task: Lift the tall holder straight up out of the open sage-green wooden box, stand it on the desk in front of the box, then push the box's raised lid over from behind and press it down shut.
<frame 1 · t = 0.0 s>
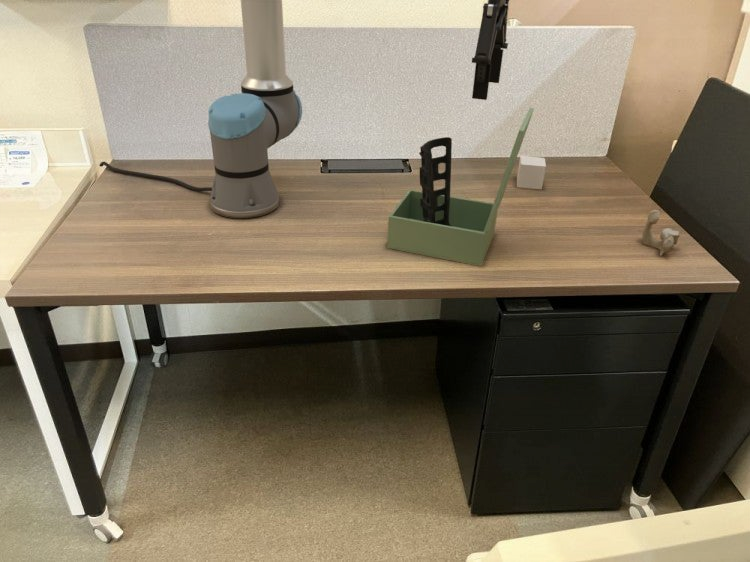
hand: (486, 90, 120), 28 cm above the table, tool pointing down, fingers open, 13 cm apart
beige irregular piece: (660, 249, 124), on the table
holder: (435, 238, 125), resting on box
box: (441, 241, 125), on the table
white cube: (528, 184, 152), on the table
lid: (509, 169, 112), point 17 cm above the table, hinge at 100.0°
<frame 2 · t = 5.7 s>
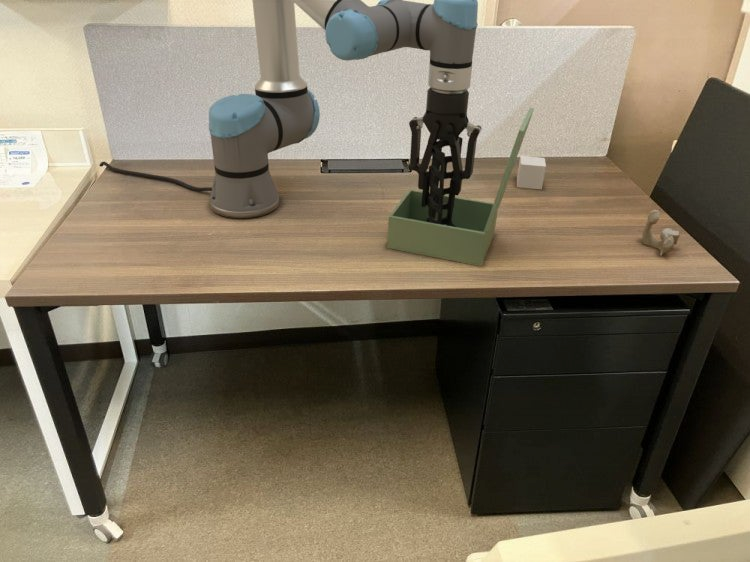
hand: (437, 206, 121), 8 cm above the table, tool pointing down, fingers closed on holder, 5 cm apart
holder: (437, 236, 125), point 1 cm above the table, touching box, gripper
everything else where it was.
when the fingers open (7 cm above the table, at t = 12.0 s): holder stays where it is, on the table.
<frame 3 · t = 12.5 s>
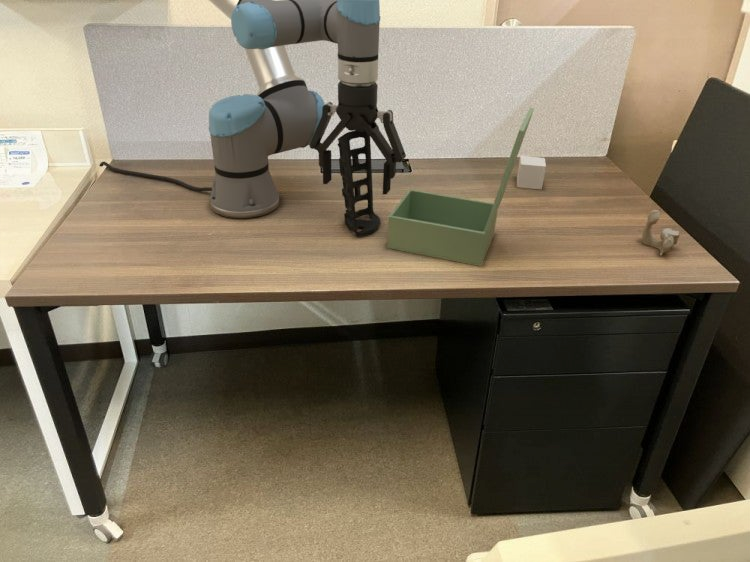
hand: (356, 187, 125), 9 cm above the table, tool pointing down, fingers open, 12 cm apart
holder: (358, 226, 130), on the table
everything else where it was.
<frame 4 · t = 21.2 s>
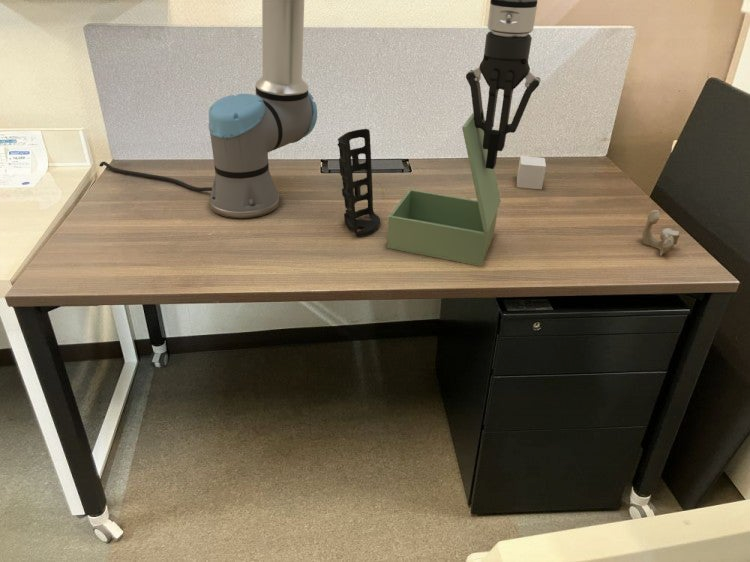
hand: (490, 165, 113), 18 cm above the table, tool pointing down, fingers closed
lid: (483, 167, 114), point 17 cm above the table, hinge at 71.9°, touching gripper, hand
everything else where it was.
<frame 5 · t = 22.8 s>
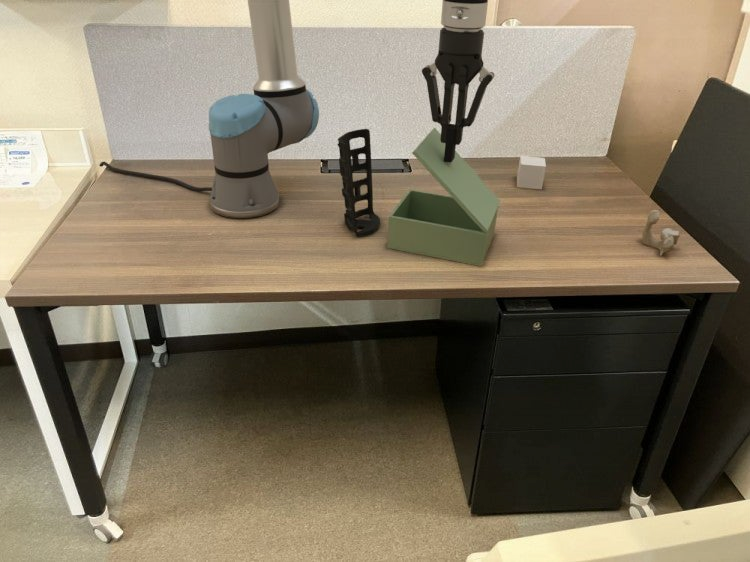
hand: (449, 159, 115), 18 cm above the table, tool pointing down, fingers closed
lid: (458, 178, 117), point 14 cm above the table, hinge at 41.7°, touching gripper
everything else where it was.
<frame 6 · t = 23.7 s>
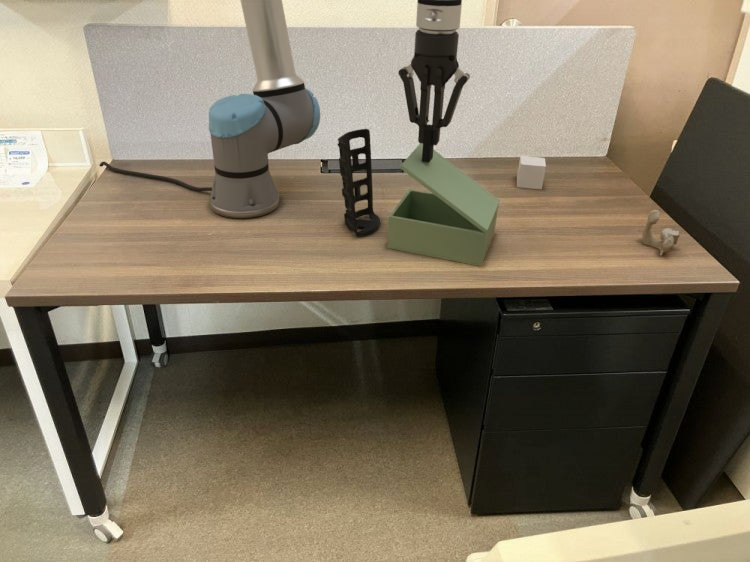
hand: (427, 159, 117), 17 cm above the table, tool pointing down, fingers closed
lid: (452, 185, 118), point 13 cm above the table, hinge at 30.6°, touching gripper
everything else where it was.
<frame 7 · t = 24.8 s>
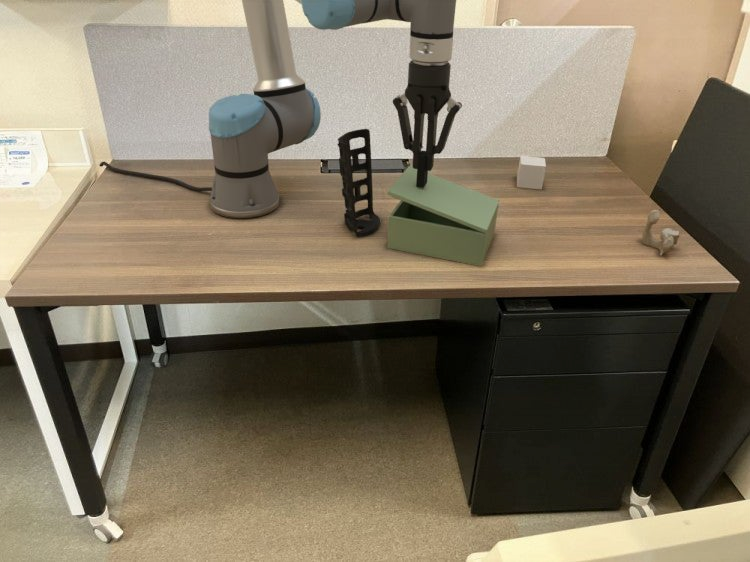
hand: (421, 184, 120), 12 cm above the table, tool pointing down, fingers closed
lid: (445, 197, 120), point 10 cm above the table, hinge at 12.8°, touching gripper
everything else where it was.
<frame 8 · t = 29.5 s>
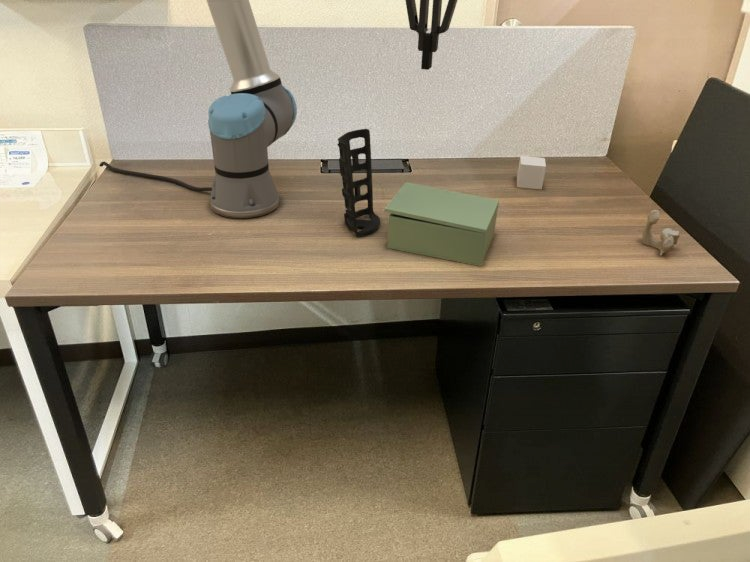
hand: (426, 67, 124), 30 cm above the table, tool pointing down, fingers closed
lid: (443, 206, 121), point 8 cm above the table, hinge at 2.0°
everything else where it was.
at the end: holder inside the target area (0.6 cm from its centre), on the table; holder tilted 0°; lid at +2° (first picture: +100°) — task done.
